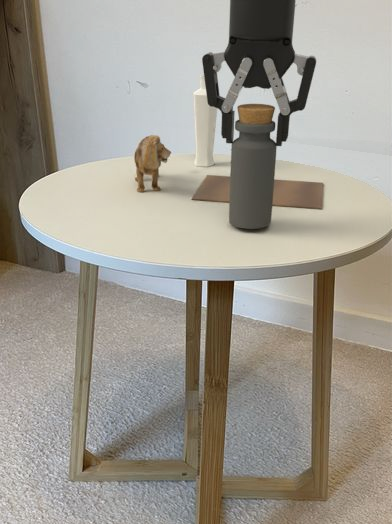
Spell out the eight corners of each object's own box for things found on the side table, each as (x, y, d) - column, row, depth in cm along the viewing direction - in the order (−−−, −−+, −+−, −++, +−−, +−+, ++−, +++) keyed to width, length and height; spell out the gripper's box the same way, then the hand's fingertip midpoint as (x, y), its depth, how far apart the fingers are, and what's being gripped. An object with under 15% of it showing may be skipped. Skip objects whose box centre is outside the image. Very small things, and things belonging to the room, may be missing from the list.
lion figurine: (173, 197, 94) (172, 137, 89) (139, 198, 93) (137, 138, 88) (156, 172, 106) (155, 118, 102) (126, 173, 105) (124, 119, 101)
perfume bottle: (218, 162, 113) (221, 75, 105) (213, 167, 110) (216, 78, 102) (194, 160, 114) (195, 74, 106) (189, 165, 110) (189, 77, 103)
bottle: (265, 231, 80) (273, 112, 72) (223, 226, 81) (226, 108, 74) (275, 217, 84) (284, 104, 77) (235, 213, 86) (240, 101, 78)
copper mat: (323, 183, 102) (323, 182, 102) (322, 209, 90) (322, 208, 90) (207, 176, 105) (207, 174, 105) (191, 199, 93) (191, 198, 93)
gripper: (195, -9, 67) (194, 147, 75) (326, -7, 64) (309, 153, 73) (206, -9, 73) (204, 135, 82) (326, -8, 71) (311, 140, 79)
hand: (254, 143), depth 77 cm, fingers closed on bottle, 5 cm apart
